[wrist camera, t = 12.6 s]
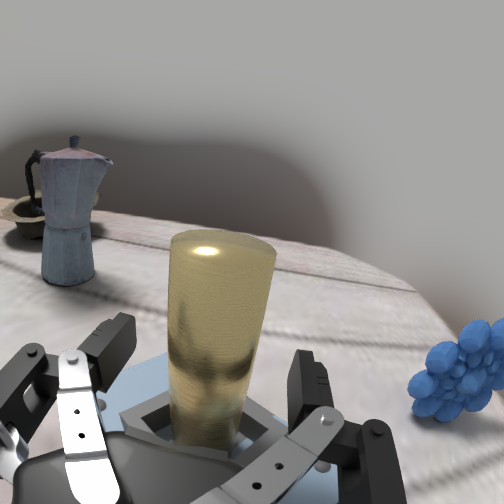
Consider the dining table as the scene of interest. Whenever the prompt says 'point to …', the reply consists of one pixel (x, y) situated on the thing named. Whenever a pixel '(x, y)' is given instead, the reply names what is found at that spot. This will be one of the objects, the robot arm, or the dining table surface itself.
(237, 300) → the pin
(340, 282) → the dining table surface
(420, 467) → the dining table surface
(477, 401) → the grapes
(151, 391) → the square socket mounting plate
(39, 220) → the stone bowl
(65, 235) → the moka pot
